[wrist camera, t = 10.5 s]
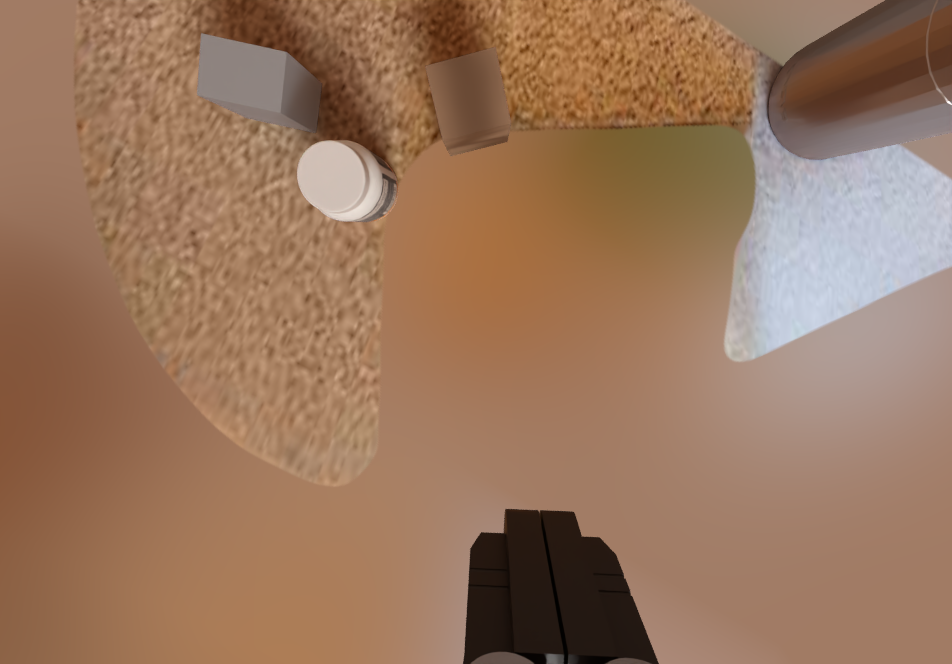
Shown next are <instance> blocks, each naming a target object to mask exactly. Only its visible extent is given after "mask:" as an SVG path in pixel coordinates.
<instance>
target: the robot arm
mask: <svg viewBox="0 0 952 664" xmlns="http://www.w3.org/2000/svg"><path fill="white" fill-rule="evenodd" d="M768 112H769V119H770V124H771V127H772V130H773V132H774V135H775V136H776V138H777V139H778V141H779V142H780V144H781V145H782V146H784V147H785V148H786V149H787V150H788V151H789V152H791V153H793V154H795V155H797V156H799V157H802V158H806V159H815V160H822V159H827V158H832V157H837V156H842V155H847V154H852V153H857V152H862V151H867V150H872V149H877V148H882V147H886V146H891V145H896V144H900V143H905V142H909V141H914V140H919V139H924V138H928V137H933V136H938V135H942V134H948V133H952V0H885V1H884V2H882V3H880V4H878V5H877V6H875V7H873V8H872V9H870V10H868V11H866V12H865V13H863V14H861V15H859V16H858V17H856V18H854V19H852V20H851V21H849V22H847V23H845V24H844V25H842V26H840V27H838V28H837V29H835V30H833V31H831V32H830V33H828V34H826V35H825V36H823V37H821V38H819V39H818V40H816V41H814V42H813V43H811V44H809V45H807V46H806V47H805V48H803V49H802V50H800V51H798V52H797V53H796V54H794V56H793V57H791V58H790V60H788V61H787V62H786V64H785V65H784V66H783V68H782V69H781V71H780V72H779V73H778V75H777V77H776V80H775V82H774V84H773V86H772V90H771V94H770V98H769V111H768ZM504 519H505V520H504V533H482V532H481V534H480V535H479V536H478V538H477V539H476V541H475V543H474V544H473V545H472V547H471V550H470V567H469V584H468V601H467V618H466V619H467V620H466V637H465V653H464V661H463V664H659V663H658V661H657V658H656V656H655V653H654V650H653V648H652V645H651V643H650V640H649V638H648V635H647V633H646V630H645V628H644V625H643V622H642V620H641V617H640V615H639V612H638V610H637V607H636V605H635V602H634V600H633V597H632V596H631V594H630V589H629V587H628V584H627V582H626V579H624V574H623V572H622V569H621V566H620V564H619V561H618V559H617V556H616V554H615V553H614V552H613V551H612V550H611V549H610V548H609V547H608V546H607V545H606V544H605V543H604V542H603V541H602V540H601V538H599V537H582V536H581V532H580V529H579V526H578V522H577V519H576V516H575V513H574V512H568V511H544V510H540V513H539V511H538V510H518V509H506V510H505V518H504Z"/></svg>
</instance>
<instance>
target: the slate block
mask: <svg viewBox="0 0 952 664" xmlns="http://www.w3.org/2000/svg"><path fill="white" fill-rule="evenodd" d="M321 89H322V83H321V82H320V81H319V80H318V79H317V78H316V77H314V76H313V75H312V74H311V73H310V72H309V71H308V70H307V69H305V68H304V67H303V66H302V65H301V64H300V63H299V62H298V61H296V60H295V59H294V58H293V57H292V56H291V55H290V54H288V53H287V52H284V51H280V50H275V49H271V48H266V47H262V46H257V45H252V44H248V43H243V42H239V41H234V40H229V39H225V38H220V37H216V36H211V35H207V34H202V33H201V44H200V59H199V74H198V88H197V95H198V96H200V97H202V98H205V99H207V100H209V101H211V102H213V103H215V104H218V105H220V106H222V107H224V108H226V109H228V110H230V111H233V112H235V113H237V114H239V115H241V116H243V117H245V118H248V119H253V120H257V121H262V122H267V123H271V124H276V125H281V126H285V127H290V128H294V129H299V130H304V131H308V132H313V133H316V130H317V122H318V114H319V106H320V98H321Z"/></svg>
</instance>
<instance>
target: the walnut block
mask: <svg viewBox="0 0 952 664" xmlns="http://www.w3.org/2000/svg"><path fill="white" fill-rule="evenodd" d="M425 68H426V72H427V76H428V81H429V85H430V89H431V93H432V98H433V102H434V106H435V110H436V114H437V119H438V123H439V127H440V131H441V136H442V140H443V142H444V144H445V146H446V148H447V150H448V152H449V154H450V156H453V155H457V154H461V153H465V152H469V151H473V150H477V149H481V148H485V147H489V146H493V145H496V144H500V143H504V142H507V141H508V136H509V131H510V126H511V120H510V115H509V110H508V105H507V100H506V96H505V91H504V86H503V81H502V76H501V71H500V66H499V61H498V57H497V52H496V47H493V48H489V49H486V50H482V51H478V52H475V53H471V54H467V55H464V56H460V57H456V58H453V59H449V60H445V61H442V62H438V63H434V64H431V65H427V66H425Z"/></svg>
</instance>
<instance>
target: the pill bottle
mask: <svg viewBox="0 0 952 664" xmlns="http://www.w3.org/2000/svg"><path fill="white" fill-rule="evenodd" d="M297 180H298V184H299V187H300V190H301V192H302V194H303V195H304V197H305V198H306V199H307V200H308V202H309V203H311V204H312V205H313V206H314V207H316V208H318V209H319V210H320V211H321V212H322V213H323V214H325V215H326V216H328V217H330V218H332V219H334V220H338V221H348V222H372V221H376V220H379V219H381V218H383V217H384V216H386V215H387V214H388V213H389V212H390V211H391V210H392V208H393V207H394V205H395V203H396V200H397V196H398V183H397V179H396V176H395V174H394V172H393V170H392V169H391V167H390V166H389V165H388V164H387V163H386V162H385V161H384V160H383V159H381V158H380V157H378V156H377V155H375V154H374V153H372V152H371V151H370V150H368V149H367V148H365V147H363V146H362V145H360V144H358V143H356V142H353V141H349V140H336V141H334V140H325V141H320V142H317V143H315V144H313V145H312V146H310V147H309V148H308V149H307V150H306V151H305V152H304V153H303V155H302V156H301V158H300V161H299V163H298V168H297Z"/></svg>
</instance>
